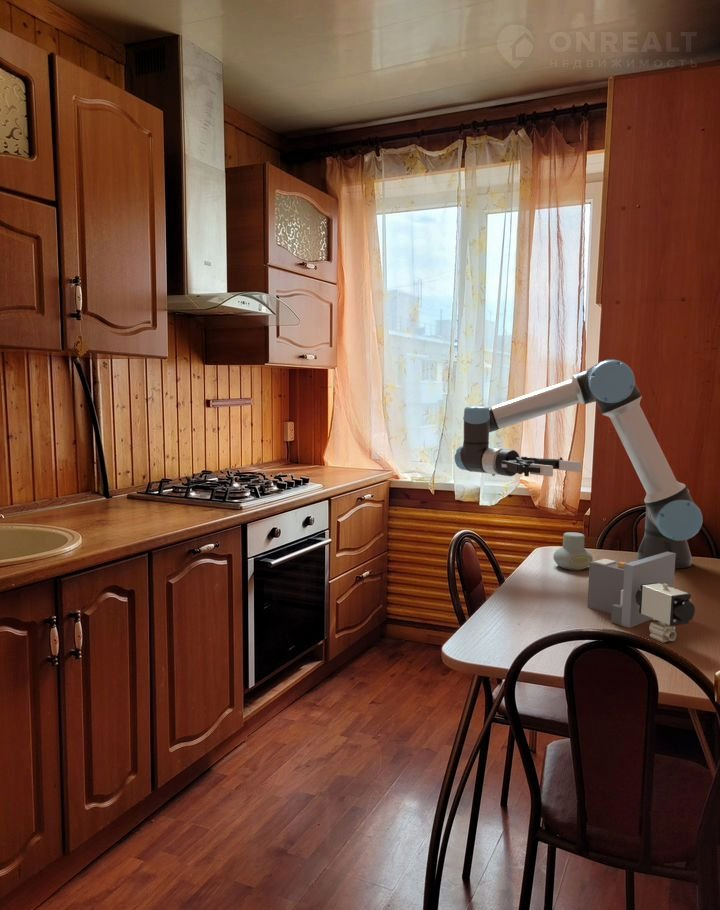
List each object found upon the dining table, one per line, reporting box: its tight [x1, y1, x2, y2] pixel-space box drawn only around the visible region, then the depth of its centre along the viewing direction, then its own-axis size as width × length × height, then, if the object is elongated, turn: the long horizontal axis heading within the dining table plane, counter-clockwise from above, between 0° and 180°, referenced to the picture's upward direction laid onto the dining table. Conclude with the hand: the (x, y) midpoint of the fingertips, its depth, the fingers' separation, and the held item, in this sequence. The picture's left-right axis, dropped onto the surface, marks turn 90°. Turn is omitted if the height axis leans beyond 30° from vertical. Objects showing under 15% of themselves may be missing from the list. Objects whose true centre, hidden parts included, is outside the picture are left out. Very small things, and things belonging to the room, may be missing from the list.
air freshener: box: [553, 531, 594, 572], centre depth 203 cm, size 11×8×10 cm
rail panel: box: [610, 552, 676, 629], centre depth 161 cm, size 19×4×14 cm, turn 129°
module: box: [587, 558, 627, 615], centre depth 165 cm, size 5×11×12 cm, turn 39°
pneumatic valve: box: [635, 583, 696, 644], centre depth 147 cm, size 6×12×12 cm, turn 23°
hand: (567, 469), depth 185 cm, fingers open, 13 cm apart
